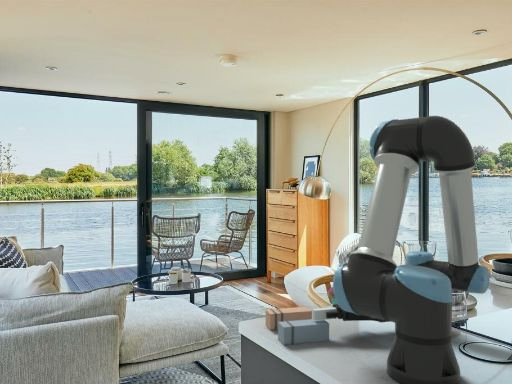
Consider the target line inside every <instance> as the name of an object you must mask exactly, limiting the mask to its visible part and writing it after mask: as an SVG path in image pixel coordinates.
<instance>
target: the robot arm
mask: <svg viewBox="0 0 512 384" xmlns="http://www.w3.org/2000/svg"><path fill="white" fill-rule="evenodd" d="M369 138H370V139H369V146H370V147H369V153H370V154H369V155H370V157H371V158H372V160H373V163H374V165H375V167H376V168H377V169H376V170H377V171H376V175H375V179H374V183H373V185H372V189H371V194H370V198H369V202H368V206H367V211H366V214H365V217H364V222H363V224H362V230H361V234H360V239H359V241H358V244H357V245H358V246H357V249H356V250H354V251H352V252H350V254H349V256H348V260H347V262H343V263H340V264H338V266H337V267H336V269H335V271H334V272H335V273H334V274H333V277H332V287H333V292H334V295H335V299H336V302H337V304H334V305H332V307H323V308H313V309H312V319H313V320H325V321H326V320H333V319H335V320H336V319H338V320H342V321H344V322H351V321H352V322H356V321H358V322H359V321H360V322H362V321H368V322H369V321H374V322H378V323H381V324H382V323H390V322H391V323H394V339H393V342H392V345H391V347H390V351H389V353H388V356H387V358H386V373H387V374H388V376H389V377H390V378H392V379H393V380H394V381H396V382H398V383H400V384H460V383H461V370H460V366H459V365H460V364H459V363H458V359H457V356H456V354H455V351H454V348H453V344H452V341H453V340H452V330H453V327H452V326H453V325H452V322H453V321H452V320H453V316H452V315H453V300H454V296H453V294H452V293H453V291H458V292H459V291H460V292H465V293H467V294H479V295H480V294H481V295H483V294H486V292H487V291H488V289H489V287H490V282H491V281H490V278H491V277H490V271H489V268H488V267H487V266H485V265H481V264H480V263H479V252H478V251H479V250H478V239H477V230H476V228H477V226H476V215H475V214H476V213H475V204H474V201H475V200H474V191H473V180H472V179H473V178H472V170H473V169H474V168H475V167H476V161H475V151H474V149H473V146H472V144H471V142H470V139H468V136H467V135H466V134H465V132H464V130H462V129H461V128H460V126H458V125H457V124H456V123H455V122H454V121H452V120H451V119H449V118H447V117H444V116H440V115H428V116H423V117H422V116H421V117H413V118H403V119H395V118H394V119H390V120H386V121H382V122H380V123H379V124H377V125H376V126H375V127H374V129H373V131H372V133H371V136H370V137H369ZM421 162H432V163H433V168H434V171H435V172H436V173H438V176H439V187H440V195H441V205H442V214H443V215H442V216H443V223H444V233H445V244H446V253H447V261H444V260H443V261H442V260H434V256H433V254H432V253H431V252H427V251H424V250H423V251H419V250H414V251H413V250H412V251H408V252H407V253H406V255H405V264H399V265H397V264H396V262H395V260H394V259H393V257H394V253H395V249H396V248H395V247H396V243H397V238H398V233H399V230H400V226H401V220H402V217H403V216H402V215H403V211H404V207H405V203H406V198H407V194H408V190H409V189H408V188H409V184H410V181H411V176H412V175H414V174H416V173H417V172H418V171H419V168H420V163H421Z"/></svg>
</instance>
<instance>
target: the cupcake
mask: <svg viewBox="0 0 512 384" xmlns="http://www.w3.org/2000/svg"><path fill="white" fill-rule="evenodd" d="M334 273H335V271H334ZM326 295H327V297H328V298H329V299H330V301H331V306H333V305H334V304H337V302H336V299H335V295H334V292H333V286H332V287H330V288H329V289H328V290H327V294H326Z"/></svg>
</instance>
